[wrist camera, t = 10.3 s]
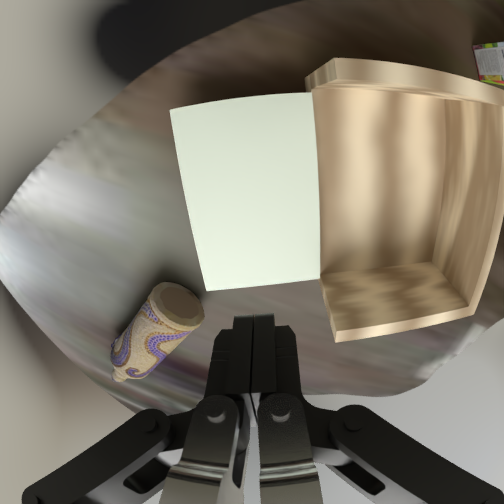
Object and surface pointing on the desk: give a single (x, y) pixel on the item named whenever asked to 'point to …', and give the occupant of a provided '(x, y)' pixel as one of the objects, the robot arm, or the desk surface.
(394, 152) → the beige open box
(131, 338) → the decorative bottle
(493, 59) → the snack box
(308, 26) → the desk surface
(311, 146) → the white rectangular panel
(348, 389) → the desk surface
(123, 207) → the desk surface
